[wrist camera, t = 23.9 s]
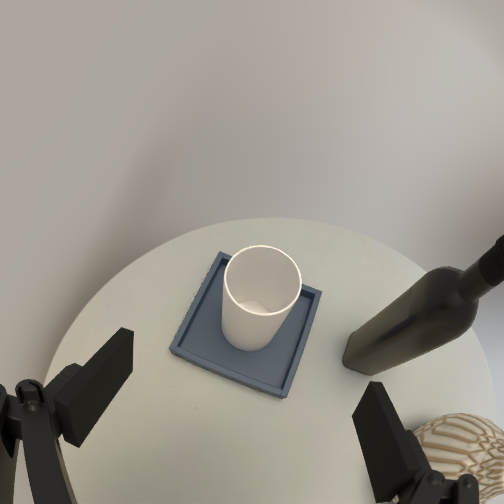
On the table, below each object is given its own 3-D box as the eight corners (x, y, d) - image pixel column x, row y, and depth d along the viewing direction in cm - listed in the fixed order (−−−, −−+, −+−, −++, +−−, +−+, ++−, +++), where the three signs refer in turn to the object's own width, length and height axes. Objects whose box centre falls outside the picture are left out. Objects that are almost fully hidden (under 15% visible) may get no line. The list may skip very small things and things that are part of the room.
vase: (456, 415, 35) (551, 389, 18) (445, 501, 26) (537, 507, 9) (378, 420, 34) (480, 403, 18) (362, 518, 26) (452, 557, 9)
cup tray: (171, 353, 37) (168, 348, 35) (219, 260, 45) (219, 251, 43) (281, 398, 36) (286, 397, 33) (316, 299, 44) (322, 291, 41)
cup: (247, 362, 37) (263, 332, 25) (210, 322, 39) (207, 274, 27) (286, 326, 40) (317, 281, 28) (249, 290, 42) (263, 232, 30)
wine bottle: (382, 343, 41) (537, 230, 15) (373, 378, 38) (548, 288, 12) (351, 330, 41) (495, 196, 16) (339, 365, 39) (505, 255, 13)
